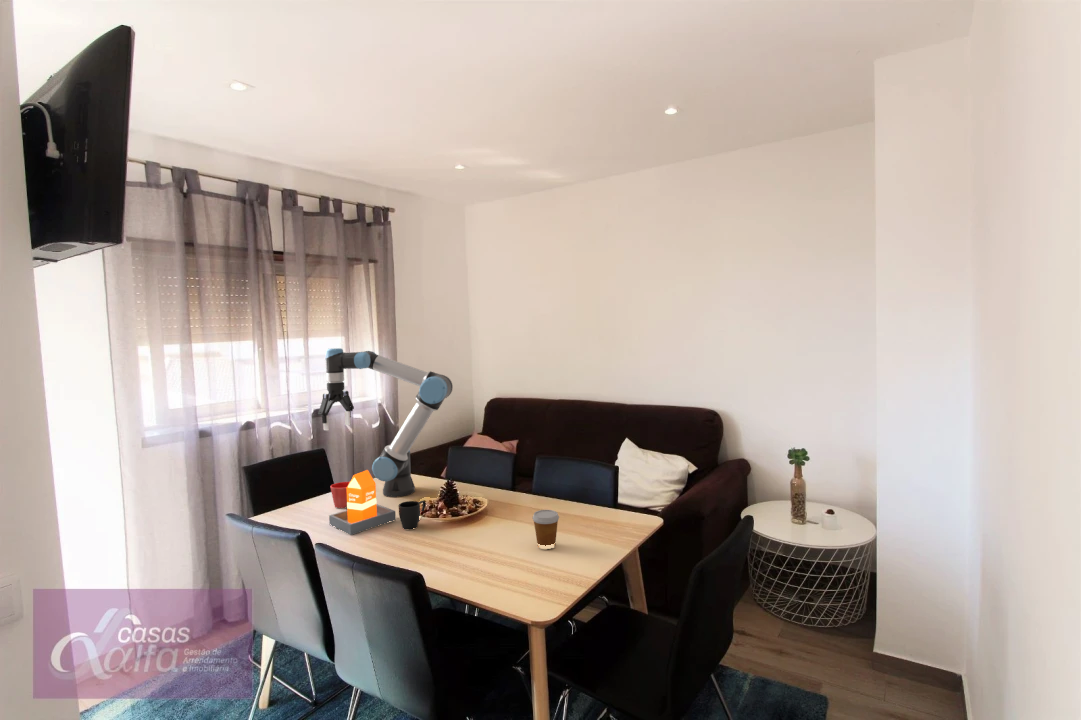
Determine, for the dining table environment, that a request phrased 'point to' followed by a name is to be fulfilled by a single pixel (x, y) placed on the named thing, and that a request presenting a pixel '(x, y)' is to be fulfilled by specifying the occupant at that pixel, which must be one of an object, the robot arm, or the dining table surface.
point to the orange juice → (361, 497)
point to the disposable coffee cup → (545, 526)
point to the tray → (351, 528)
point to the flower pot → (339, 494)
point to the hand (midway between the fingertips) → (337, 427)
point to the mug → (410, 513)
